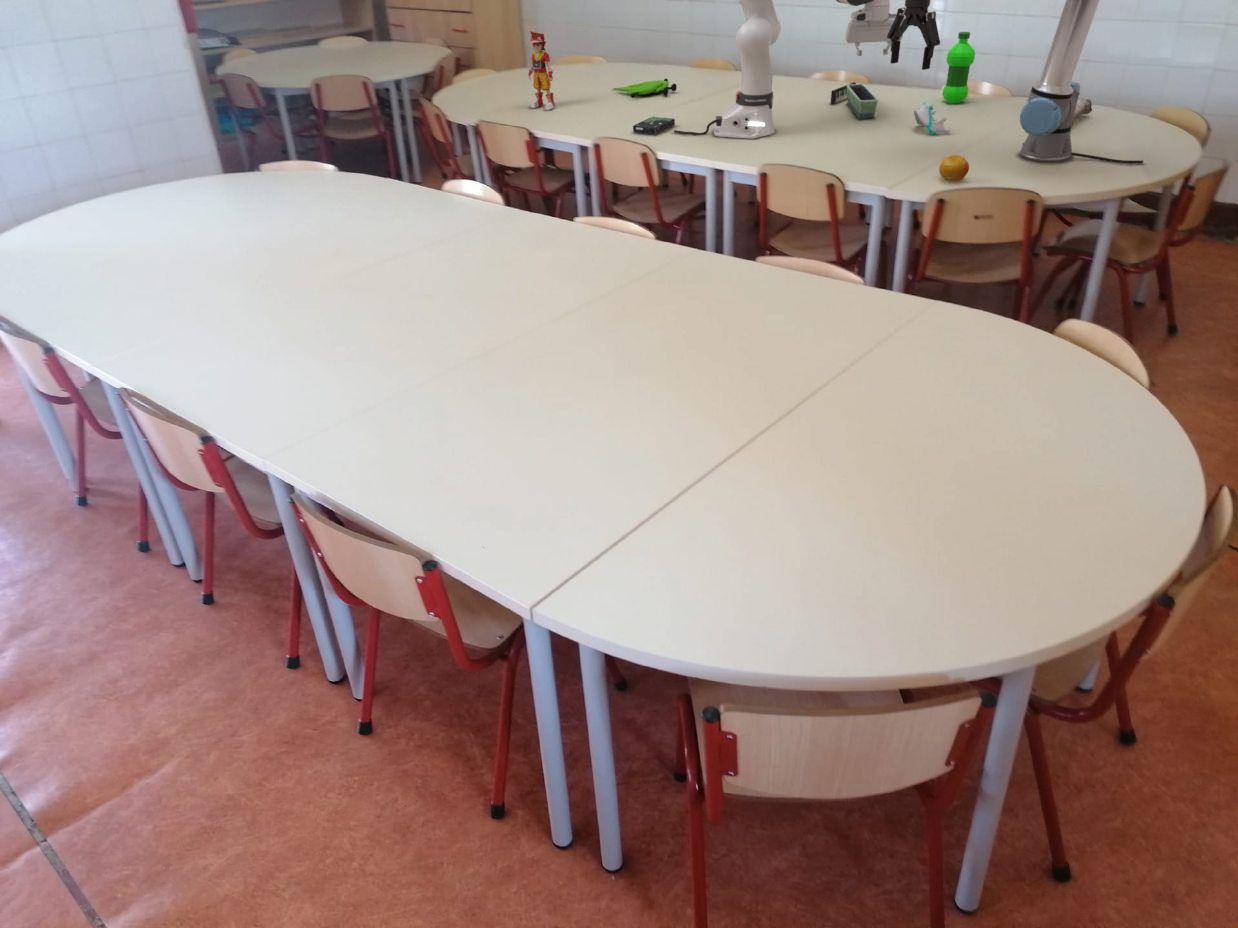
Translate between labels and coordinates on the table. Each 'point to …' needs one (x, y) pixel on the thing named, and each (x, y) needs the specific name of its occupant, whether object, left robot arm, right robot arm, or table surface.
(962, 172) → the fruit
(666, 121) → the disk drive
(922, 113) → the anatomical model
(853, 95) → the planter
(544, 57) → the toy
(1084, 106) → the rolled mat
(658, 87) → the toy
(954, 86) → the plastic bottle
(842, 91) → the midi keyboard
